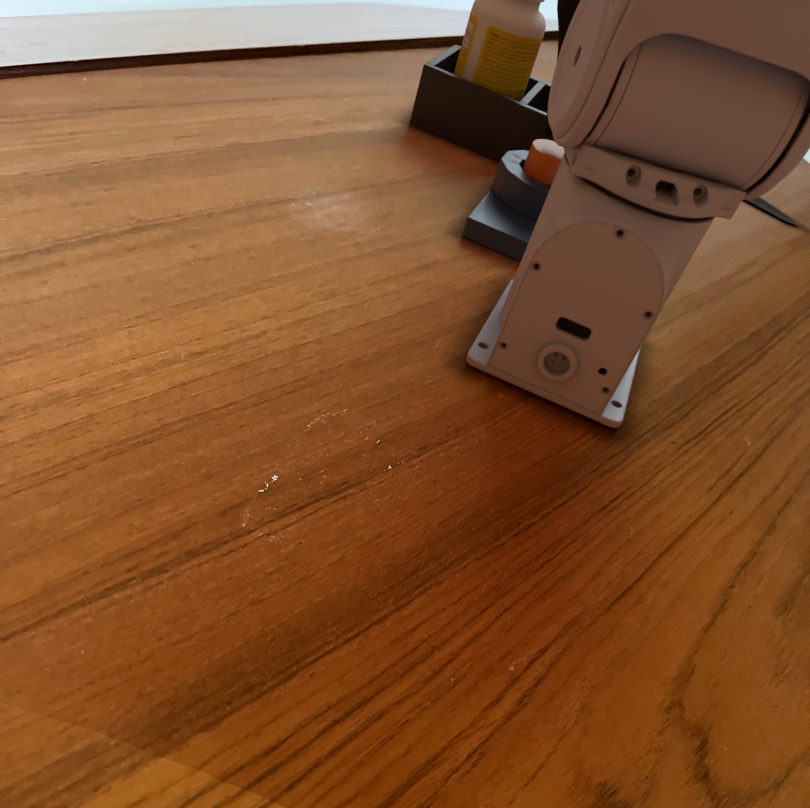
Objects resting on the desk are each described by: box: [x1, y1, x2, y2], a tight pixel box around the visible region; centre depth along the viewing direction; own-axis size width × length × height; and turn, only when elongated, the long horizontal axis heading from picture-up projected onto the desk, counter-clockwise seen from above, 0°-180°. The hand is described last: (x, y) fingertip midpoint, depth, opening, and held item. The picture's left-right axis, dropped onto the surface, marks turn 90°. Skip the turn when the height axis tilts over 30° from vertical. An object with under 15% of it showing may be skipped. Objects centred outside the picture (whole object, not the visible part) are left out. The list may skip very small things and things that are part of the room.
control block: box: [461, 150, 551, 262], centre depth 47 cm, size 10×8×3 cm
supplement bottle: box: [454, 0, 547, 101], centre depth 54 cm, size 5×5×10 cm
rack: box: [408, 44, 554, 163], centre depth 56 cm, size 8×15×4 cm, turn 70°
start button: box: [523, 139, 565, 186], centre depth 47 cm, size 3×3×2 cm
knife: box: [747, 196, 801, 227], centre depth 64 cm, size 16×1×3 cm
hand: (561, 138), depth 46 cm, fingers closed
